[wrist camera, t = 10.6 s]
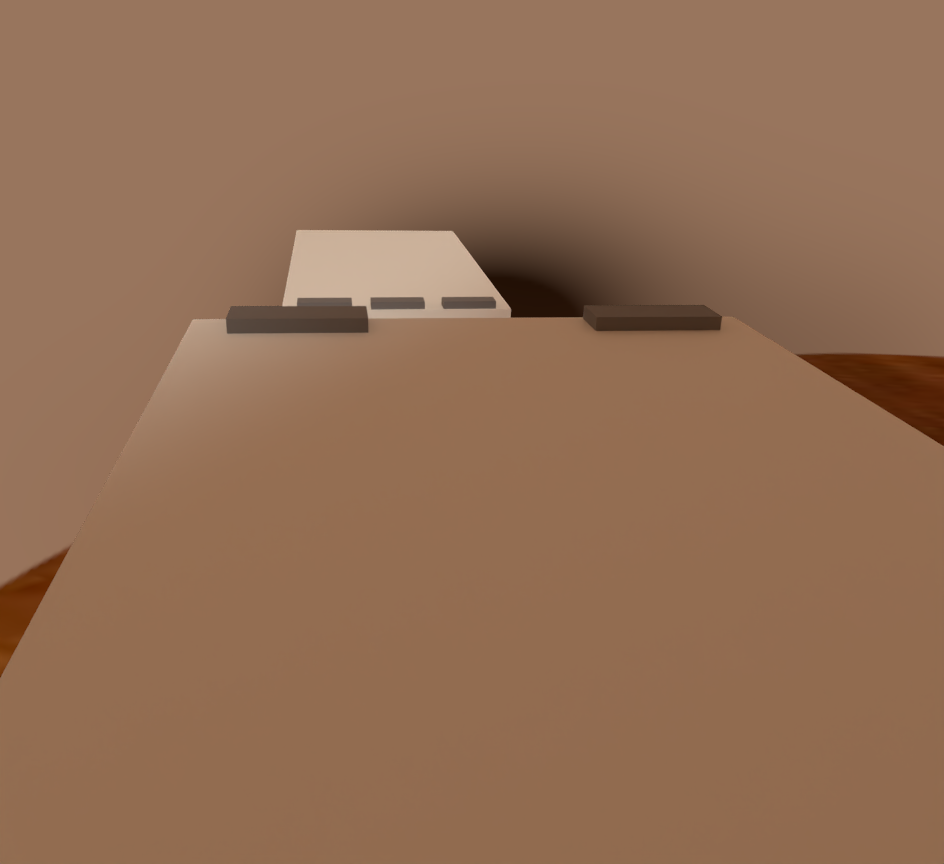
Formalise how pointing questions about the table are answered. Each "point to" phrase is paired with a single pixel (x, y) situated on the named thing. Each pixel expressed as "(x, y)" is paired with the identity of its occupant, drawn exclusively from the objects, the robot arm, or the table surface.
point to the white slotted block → (391, 275)
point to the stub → (490, 606)
